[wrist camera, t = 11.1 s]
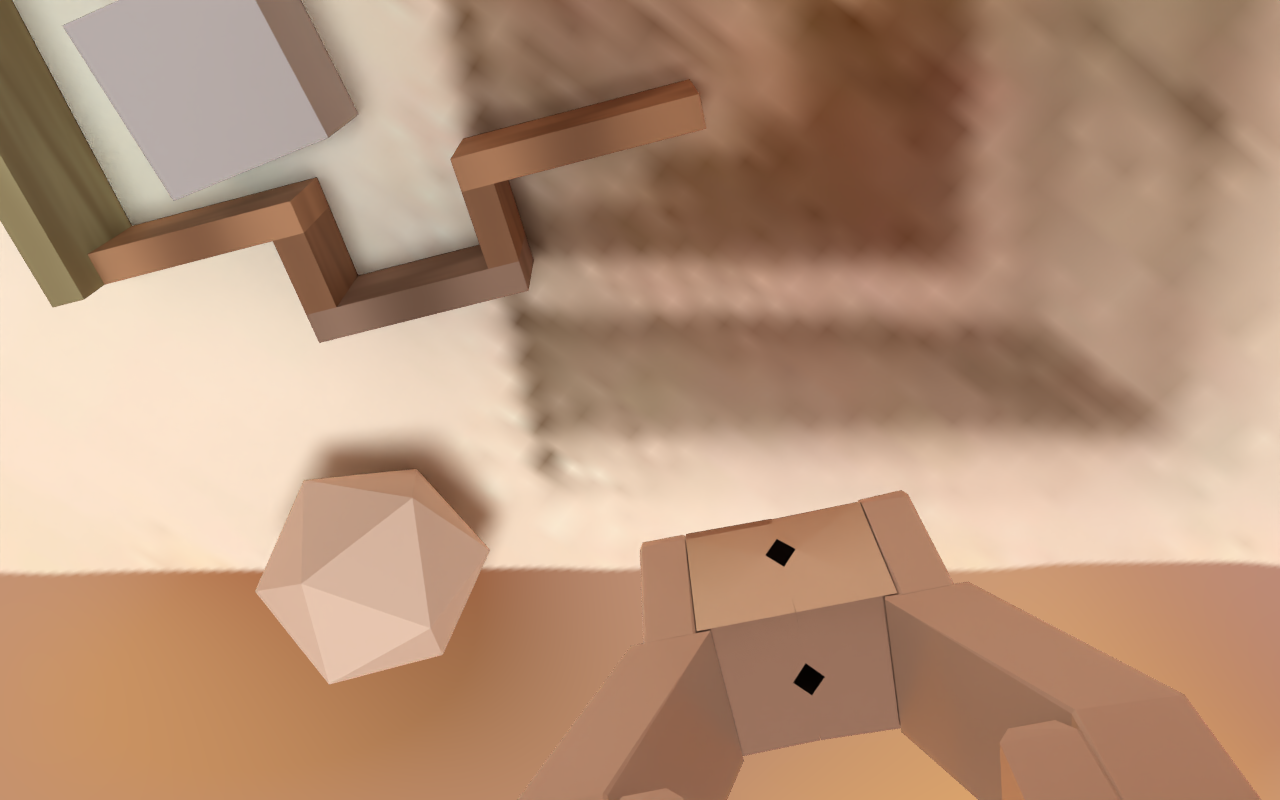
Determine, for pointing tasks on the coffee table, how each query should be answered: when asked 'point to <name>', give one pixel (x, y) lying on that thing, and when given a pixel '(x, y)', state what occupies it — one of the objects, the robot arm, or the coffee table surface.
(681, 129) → the box
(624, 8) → the coffee table surface
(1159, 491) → the coffee table surface
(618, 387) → the coffee table surface
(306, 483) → the die
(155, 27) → the block
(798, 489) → the coffee table surface
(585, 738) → the robot arm
